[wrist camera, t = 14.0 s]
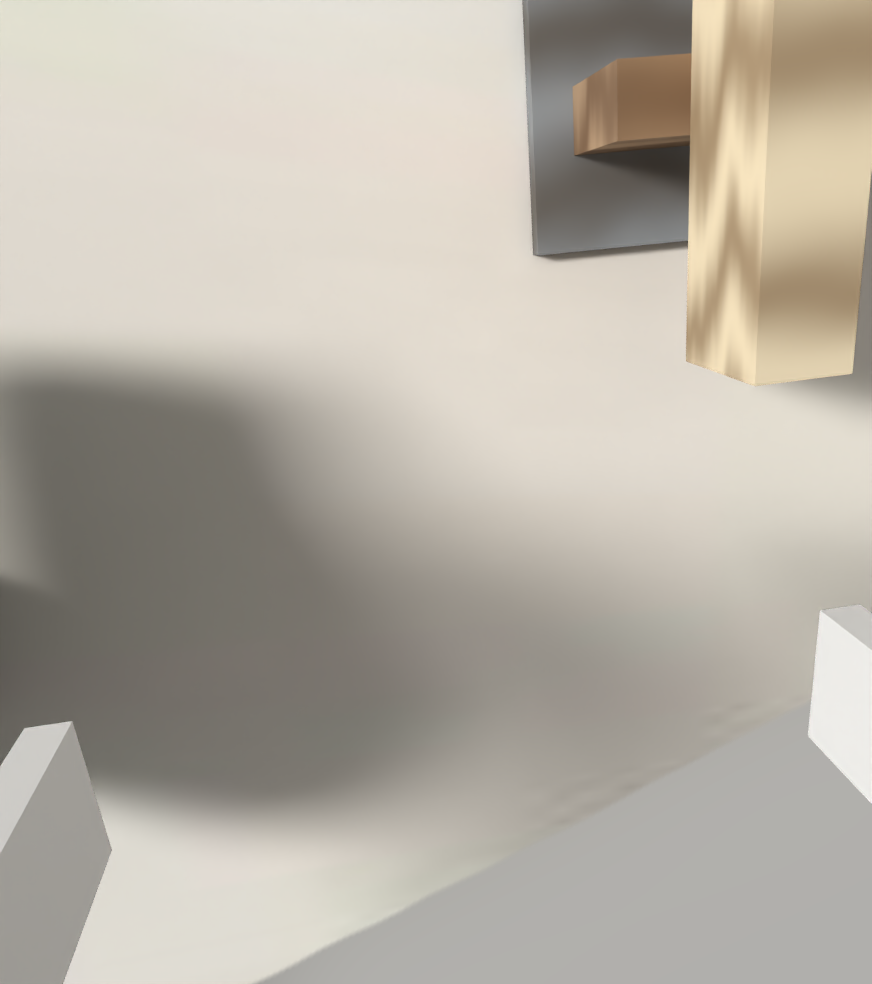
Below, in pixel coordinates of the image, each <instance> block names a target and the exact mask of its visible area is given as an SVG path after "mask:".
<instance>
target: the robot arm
mask: <svg viewBox="0 0 872 984" xmlns="http://www.w3.org/2000/svg"><path fill="white" fill-rule="evenodd" d="M808 737H809V738H810V739H811V740H812V741H813V742H814V743H815V744H816V745H817V746H818V747H819V748H820V749H821V750H822V751H823V752H824V754H825V755H826V756H827V757H828V758H829V759H830V760H831V761H832V762H833V763H834V764H835V765H836V766H837V767H838V768H839V770H841V772H842V773H843V774H844V775H845V776H846V777H847V778H848V779H849V780H850V781H851V782H852V783H853V784H854V786H855V787H856V788H857V789H858V790H859V791H860V792H861V793H862V794H863V795H864V796H865V797H866V798H867V799H868V800H869V801H870V802H871V804H872V613H871V612H870V611H869V610H867V609H866V608H864V607H863V606H861V605H860V604H858V605H851V606H845V607H838V608H831V609H825V610H820V616H819V626H818V637H817V647H816V657H815V667H814V678H813V688H812V698H811V708H810V718H809V729H808ZM111 851H112V849H111V846H110V842H109V839H108V836H107V833H106V829H105V826H104V823H103V820H102V816H101V813H100V810H99V806H98V803H97V800H96V797H95V793H94V790H93V787H92V784H91V780H90V777H89V774H88V770H87V767H86V764H85V761H84V757H83V754H82V751H81V748H80V744H79V741H78V738H77V734H76V731H75V728H74V725H73V721H69V722H62V723H55V724H49V725H42V726H35V727H28V728H24V729H23V731H22V733H21V734H20V736H19V737H18V739H17V740H16V742H15V744H14V745H13V747H12V748H11V750H10V752H9V753H8V755H7V756H6V758H5V759H4V761H3V763H2V764H1V766H0V984H63V982H64V979H65V977H66V974H67V971H68V969H69V966H70V963H71V960H72V958H73V955H74V952H75V949H76V947H77V944H78V941H79V938H80V936H81V933H82V930H83V927H84V925H85V922H86V919H87V917H88V914H89V911H90V908H91V906H92V903H93V900H94V897H95V895H96V892H97V889H98V886H99V884H100V881H101V878H102V876H103V873H104V870H105V867H106V865H107V862H108V859H109V856H110V854H111Z"/></svg>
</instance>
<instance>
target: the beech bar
mask: <svg viewBox="0 0 872 984" xmlns="http://www.w3.org/2000/svg"><path fill="white" fill-rule="evenodd" d="M871 172H872V0H693V8H692V63H691V117H690V172H689V227H688V281H687V336H686V361H687V362H690V363H692V364H695V365H698V366H701V367H703V368H706V369H709V370H712V371H714V372H717V373H720V374H723V375H726V376H728V377H731V378H734V379H737V380H739V381H742V382H745V383H748V384H750V385H753V386H760V385H768V384H776V383H784V382H792V381H799V380H807V379H815V378H823V377H831V376H839V375H847V374H852V372H853V361H854V351H855V340H856V330H857V319H858V309H859V298H860V288H861V277H862V267H863V256H864V246H865V235H866V225H867V214H868V204H869V193H870V183H871Z"/></svg>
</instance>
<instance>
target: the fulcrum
mask: <svg viewBox="0 0 872 984" xmlns="http://www.w3.org/2000/svg"><path fill="white" fill-rule="evenodd" d="M692 8H693V0H523V24H524V47H525V71H526V95H527V118H528V142H529V165H530V189H531V213H532V236H533V255H548V254H558V253H568V252H578V251H588V250H598V249H608V248H619V247H629V246H639V245H649V244H659V243H669V242H679V241H688V227H689V172H690V117H691V63H692Z"/></svg>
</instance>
